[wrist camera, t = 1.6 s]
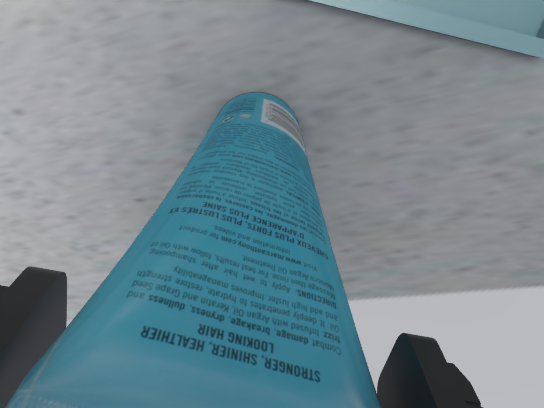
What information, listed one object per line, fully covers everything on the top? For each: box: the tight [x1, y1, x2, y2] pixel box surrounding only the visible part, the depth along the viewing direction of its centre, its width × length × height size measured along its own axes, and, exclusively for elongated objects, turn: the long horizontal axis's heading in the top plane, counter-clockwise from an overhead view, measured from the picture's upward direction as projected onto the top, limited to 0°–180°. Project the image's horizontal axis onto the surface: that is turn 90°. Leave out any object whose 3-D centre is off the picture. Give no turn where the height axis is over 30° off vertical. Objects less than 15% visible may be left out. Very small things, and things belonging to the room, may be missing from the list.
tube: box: [5, 92, 381, 408], centre depth 16 cm, size 7×5×19 cm, turn 77°
